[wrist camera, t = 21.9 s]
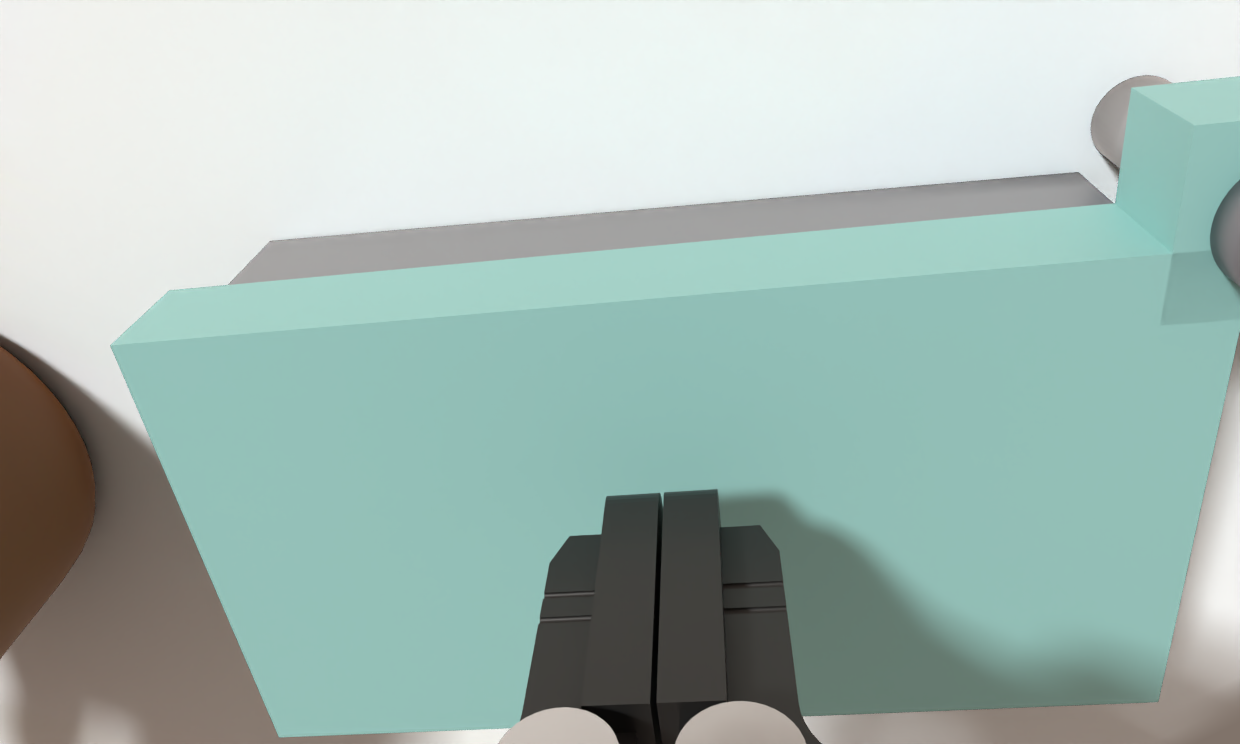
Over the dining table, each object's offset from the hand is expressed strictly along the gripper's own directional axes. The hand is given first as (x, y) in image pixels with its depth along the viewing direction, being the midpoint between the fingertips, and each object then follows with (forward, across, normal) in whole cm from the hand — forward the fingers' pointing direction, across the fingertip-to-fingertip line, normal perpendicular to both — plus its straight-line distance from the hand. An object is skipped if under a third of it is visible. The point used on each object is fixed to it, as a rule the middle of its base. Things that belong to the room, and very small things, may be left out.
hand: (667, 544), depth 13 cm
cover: (+3, -1, 0) cm, 3 cm away
